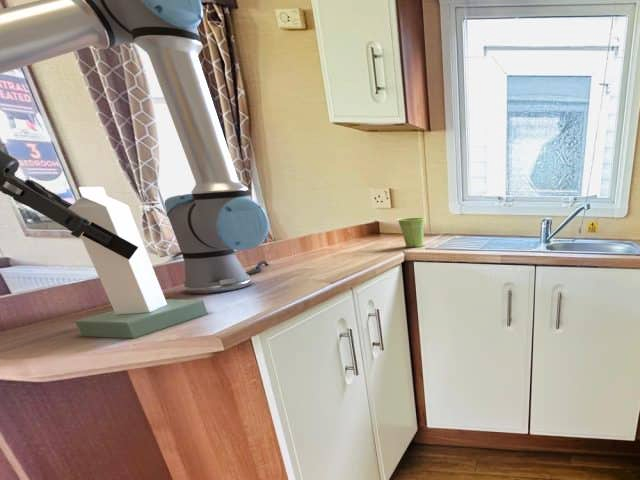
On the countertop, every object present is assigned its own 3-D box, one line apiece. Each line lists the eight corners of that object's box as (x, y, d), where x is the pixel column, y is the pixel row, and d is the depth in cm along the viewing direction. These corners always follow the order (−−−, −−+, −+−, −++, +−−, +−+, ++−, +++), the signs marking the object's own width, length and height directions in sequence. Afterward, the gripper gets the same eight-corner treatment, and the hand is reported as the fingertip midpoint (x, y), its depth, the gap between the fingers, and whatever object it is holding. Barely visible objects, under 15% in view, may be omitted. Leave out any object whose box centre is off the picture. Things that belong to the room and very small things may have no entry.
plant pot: (395, 248, 179) (391, 220, 174) (410, 244, 189) (406, 217, 184) (420, 248, 176) (416, 219, 171) (433, 244, 186) (430, 217, 181)
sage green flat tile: (162, 312, 93) (157, 299, 91) (207, 313, 90) (202, 299, 89) (82, 336, 79) (74, 320, 77) (133, 338, 76) (126, 322, 75)
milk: (167, 305, 86) (122, 186, 77) (149, 312, 81) (98, 186, 71) (135, 307, 85) (85, 187, 76) (114, 315, 80) (58, 187, 71)
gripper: (-22, 182, 74) (125, 259, 88) (-77, 177, 56) (119, 274, 70) (5, 148, 74) (146, 230, 89) (-41, 132, 56) (146, 238, 71)
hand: (135, 250), depth 80 cm, fingers open, 13 cm apart
